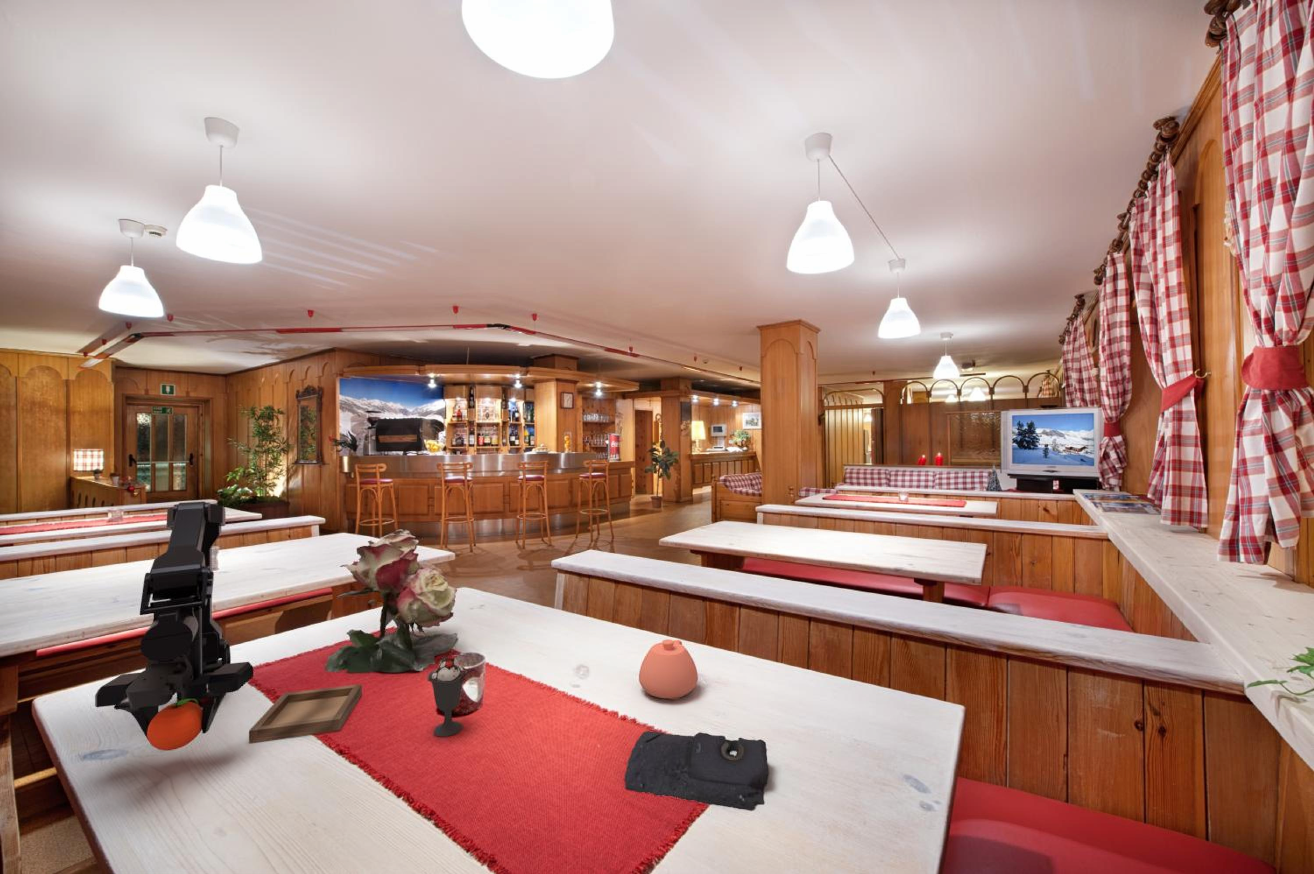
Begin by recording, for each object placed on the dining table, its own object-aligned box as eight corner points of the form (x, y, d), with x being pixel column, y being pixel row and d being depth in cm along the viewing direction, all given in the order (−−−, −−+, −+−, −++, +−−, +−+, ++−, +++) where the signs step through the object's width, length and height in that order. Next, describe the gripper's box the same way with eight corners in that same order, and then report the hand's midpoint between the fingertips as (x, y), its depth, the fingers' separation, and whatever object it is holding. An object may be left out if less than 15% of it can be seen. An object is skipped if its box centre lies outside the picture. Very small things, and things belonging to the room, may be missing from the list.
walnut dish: (249, 742, 91) (249, 730, 91) (283, 703, 104) (283, 693, 104) (339, 730, 94) (339, 718, 94) (361, 694, 108) (361, 684, 108)
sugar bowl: (629, 698, 105) (628, 647, 105) (655, 669, 118) (655, 624, 118) (686, 709, 101) (686, 656, 101) (707, 678, 114) (707, 631, 114)
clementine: (176, 732, 88) (175, 690, 88) (220, 729, 89) (220, 688, 89) (134, 761, 80) (133, 715, 80) (183, 758, 81) (183, 712, 81)
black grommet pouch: (643, 736, 92) (642, 709, 92) (769, 752, 87) (769, 724, 87) (616, 793, 78) (616, 761, 78) (768, 817, 72) (767, 782, 73)
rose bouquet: (441, 674, 117) (440, 540, 117) (312, 674, 117) (311, 541, 117) (481, 631, 143) (480, 522, 143) (375, 632, 143) (374, 522, 143)
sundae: (454, 741, 90) (453, 655, 91) (420, 737, 92) (419, 652, 92) (475, 721, 97) (474, 640, 97) (442, 717, 98) (442, 638, 98)
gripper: (64, 667, 75) (65, 776, 75) (219, 652, 79) (219, 755, 79) (121, 638, 85) (122, 733, 85) (254, 627, 90) (255, 717, 90)
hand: (178, 735), depth 85 cm, fingers closed on clementine, 7 cm apart
